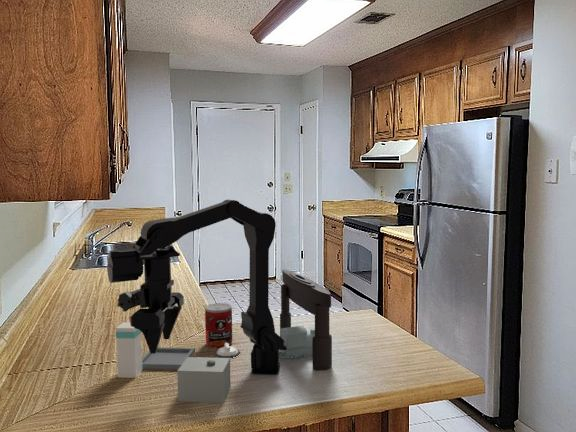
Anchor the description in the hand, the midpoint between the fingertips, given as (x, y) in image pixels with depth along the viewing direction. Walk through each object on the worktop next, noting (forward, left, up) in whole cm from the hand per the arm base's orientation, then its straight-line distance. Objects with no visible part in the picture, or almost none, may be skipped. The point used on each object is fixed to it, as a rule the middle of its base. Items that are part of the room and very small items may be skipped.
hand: (160, 345), depth 116 cm
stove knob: (-10, -25, -12) cm, 29 cm away
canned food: (-6, -33, -11) cm, 35 cm away
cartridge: (+11, -10, -11) cm, 19 cm away
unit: (-10, 0, -11) cm, 15 cm away
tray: (+5, -19, -11) cm, 23 cm away
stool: (-31, -27, -11) cm, 43 cm away
